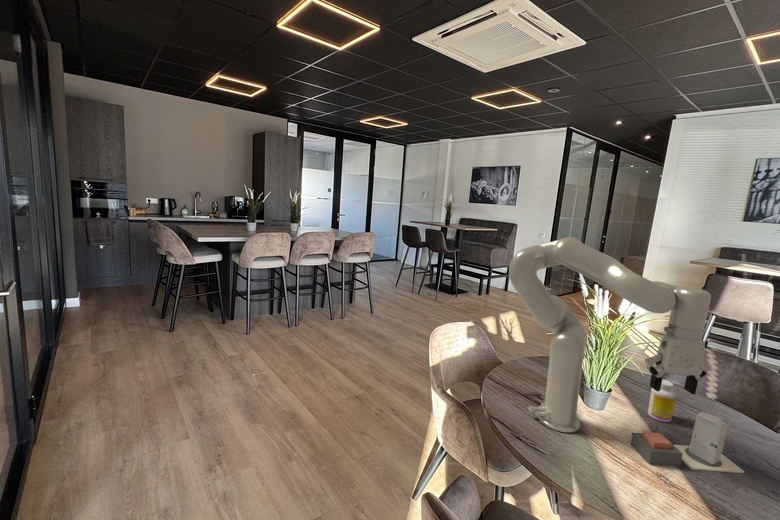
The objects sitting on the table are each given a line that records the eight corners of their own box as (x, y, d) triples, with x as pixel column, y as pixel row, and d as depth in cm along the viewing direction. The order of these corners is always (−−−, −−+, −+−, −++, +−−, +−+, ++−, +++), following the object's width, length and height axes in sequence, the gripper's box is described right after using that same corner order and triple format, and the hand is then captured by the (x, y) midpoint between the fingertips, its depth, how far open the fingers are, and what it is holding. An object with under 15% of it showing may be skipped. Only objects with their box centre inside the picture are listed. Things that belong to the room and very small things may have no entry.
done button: (652, 452, 101) (654, 442, 101) (641, 441, 106) (643, 431, 105) (670, 453, 101) (672, 443, 100) (658, 442, 106) (660, 433, 105)
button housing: (649, 464, 100) (651, 451, 99) (630, 444, 108) (632, 432, 107) (680, 466, 99) (682, 453, 99) (659, 446, 108) (661, 434, 107)
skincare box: (687, 452, 105) (694, 413, 103) (695, 448, 107) (702, 410, 105) (714, 465, 99) (722, 425, 98) (721, 461, 101) (729, 421, 100)
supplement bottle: (675, 424, 120) (681, 388, 118) (653, 421, 121) (659, 385, 119) (664, 413, 126) (670, 379, 125) (643, 410, 128) (649, 376, 126)
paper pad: (691, 469, 98) (691, 467, 98) (665, 445, 108) (665, 443, 108) (744, 473, 98) (744, 471, 98) (713, 448, 108) (713, 447, 108)
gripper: (662, 334, 95) (650, 394, 97) (728, 340, 94) (714, 400, 97) (643, 325, 102) (632, 381, 105) (704, 330, 102) (692, 386, 105)
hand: (671, 390), depth 101 cm, fingers open, 9 cm apart
